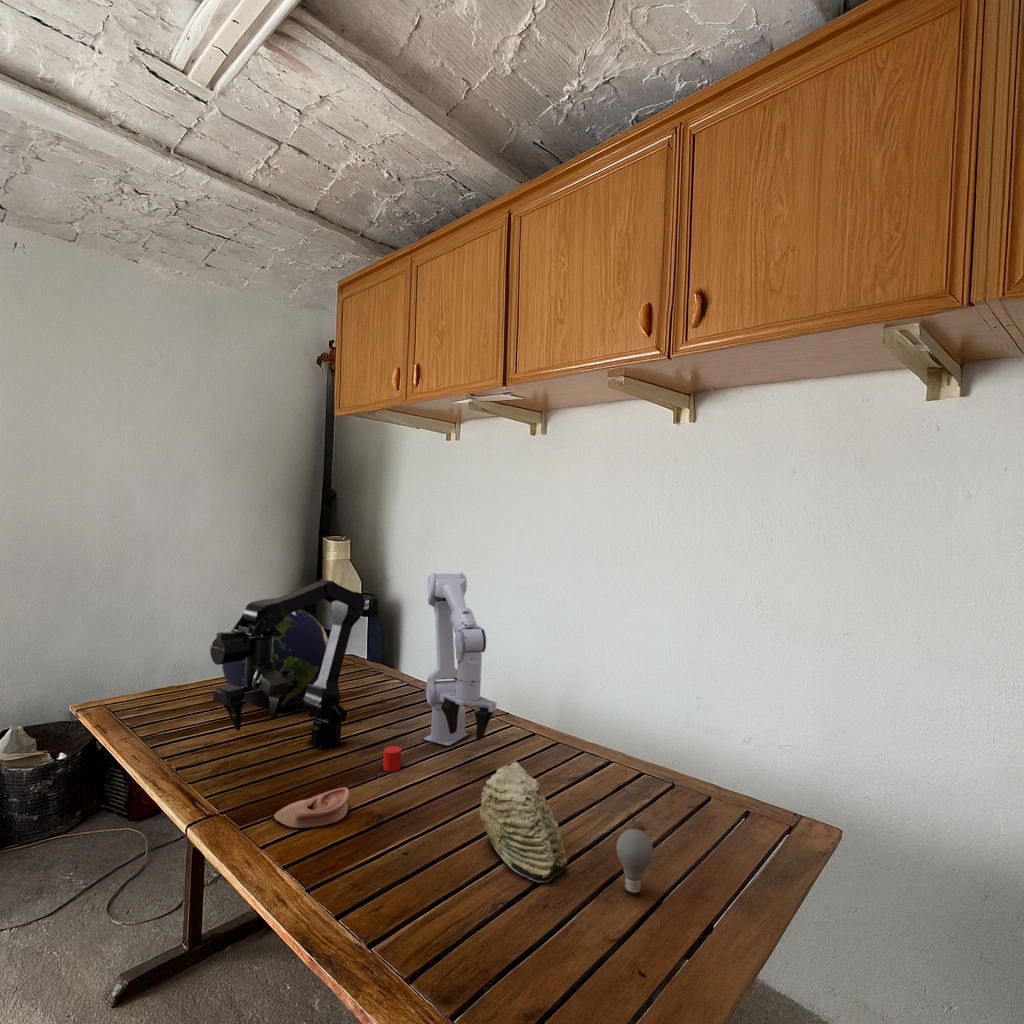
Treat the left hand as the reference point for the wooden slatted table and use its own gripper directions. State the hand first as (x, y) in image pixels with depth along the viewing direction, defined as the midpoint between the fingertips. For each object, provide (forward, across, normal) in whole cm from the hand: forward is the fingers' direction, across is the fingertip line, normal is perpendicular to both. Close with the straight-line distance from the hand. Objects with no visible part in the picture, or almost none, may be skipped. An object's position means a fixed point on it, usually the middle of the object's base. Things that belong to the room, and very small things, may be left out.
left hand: (255, 724), depth 146 cm
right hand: (+2, +30, -38) cm, 49 cm away
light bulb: (+10, +9, -89) cm, 90 cm away
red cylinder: (+10, +20, -24) cm, 33 cm away
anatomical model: (+10, -6, -27) cm, 30 cm away
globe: (+10, +30, +32) cm, 45 cm away
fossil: (+10, +6, -68) cm, 69 cm away
